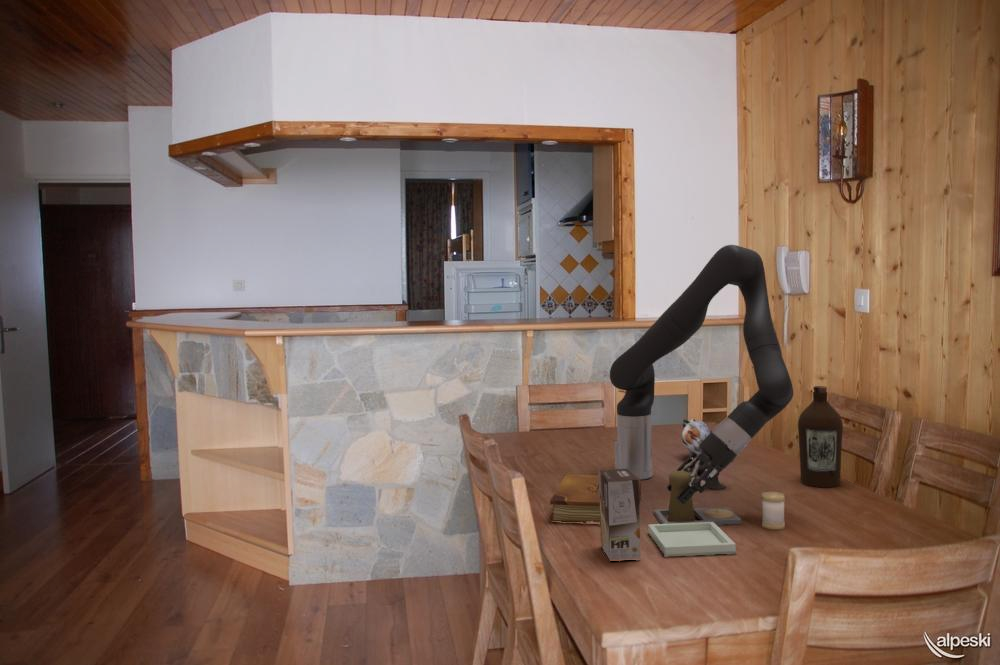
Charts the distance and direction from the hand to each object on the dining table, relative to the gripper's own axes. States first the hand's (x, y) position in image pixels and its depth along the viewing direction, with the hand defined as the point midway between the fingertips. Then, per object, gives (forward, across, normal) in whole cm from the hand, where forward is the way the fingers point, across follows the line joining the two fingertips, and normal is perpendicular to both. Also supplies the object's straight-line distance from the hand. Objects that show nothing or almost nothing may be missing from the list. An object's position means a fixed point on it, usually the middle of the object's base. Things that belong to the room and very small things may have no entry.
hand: (674, 495), depth 173 cm
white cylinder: (-10, +7, +18) cm, 22 cm away
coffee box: (+16, +19, -7) cm, 25 cm away
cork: (+3, 0, +5) cm, 6 cm away
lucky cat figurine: (-13, -54, +21) cm, 60 cm away
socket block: (0, 0, +7) cm, 7 cm away
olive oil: (-27, -24, +36) cm, 51 cm away
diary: (+15, -11, -7) cm, 20 cm away
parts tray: (+5, +15, +3) cm, 16 cm away
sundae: (-8, -25, +16) cm, 31 cm away
